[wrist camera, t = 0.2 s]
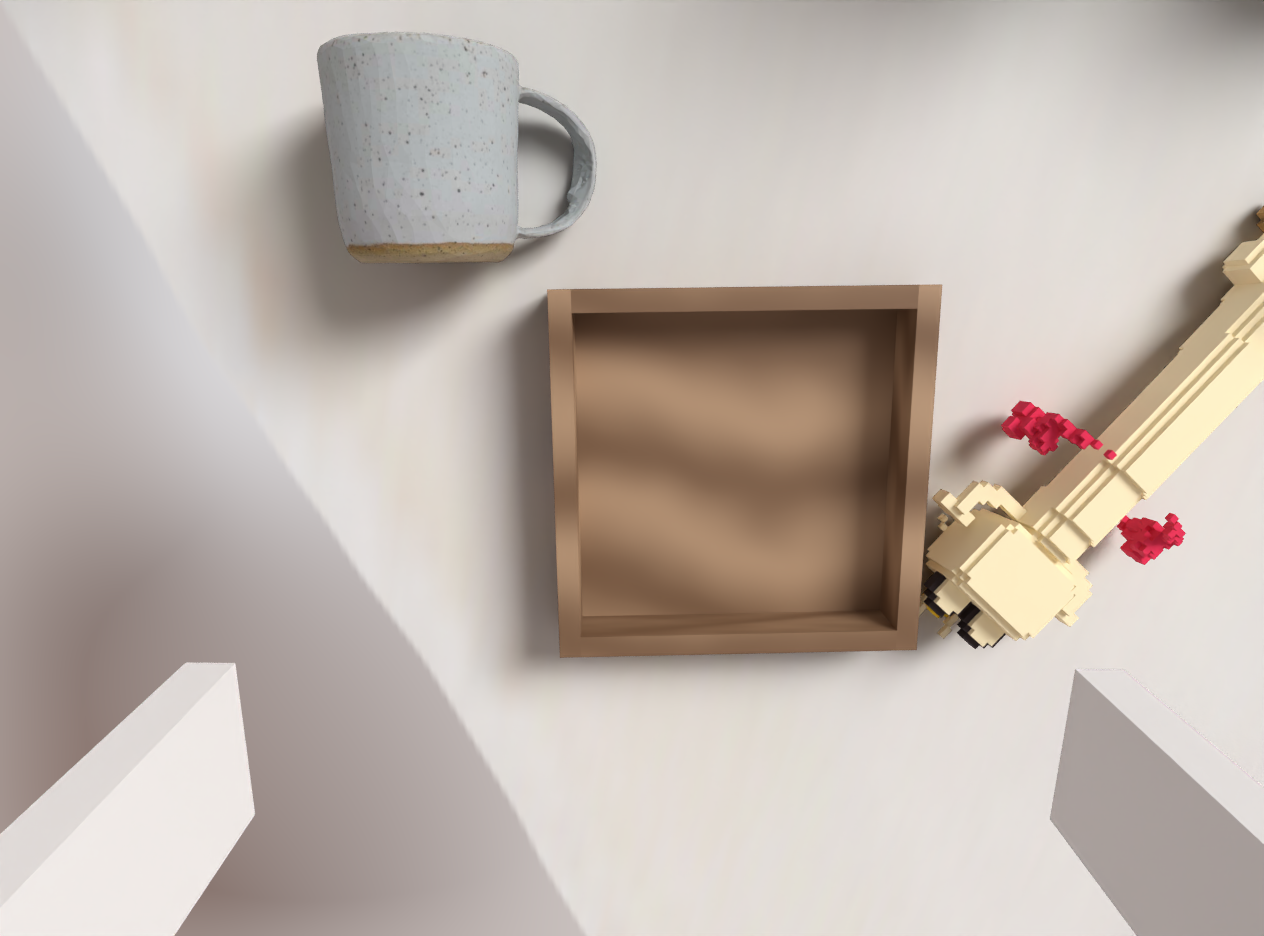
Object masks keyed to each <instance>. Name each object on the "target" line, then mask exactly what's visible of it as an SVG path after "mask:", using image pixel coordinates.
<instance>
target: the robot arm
mask: <svg viewBox="0 0 1264 936" xmlns="http://www.w3.org/2000/svg"><path fill="white" fill-rule="evenodd" d="M254 815H255V810H254V804H253V795H252V788H251V780H250V772H249V765H248V758H247V749H246V742H245V734H244V727H243V719H242V712H241V704H240V696H239V689H238V681H237V673H236V666H235V663H185V664H184V665H183V666H182V667H181V668H180V669H179V670H177V671H176V672H175V673H174V674H173V675H172V676H171V677H170V678H169V679H168V680H167V681H166V682H164V683H163V684H162V685H161V686H160V687H159V688H158V689H157V690H156V691H155V692H154V693H152V694H151V696H149V697H148V698H147V699H146V700H145V701H144V702H143V703H142V704H141V705H139V707H137V708H136V709H135V710H134V711H133V712H132V713H131V714H130V715H129V716H128V717H126V718H125V719H124V720H123V721H122V722H121V723H120V724H119V725H118V726H117V727H116V728H115V729H114V730H113V731H111V732H110V733H109V734H108V735H107V736H106V737H105V738H104V739H103V740H102V741H101V742H99V743H98V745H96V746H95V747H94V748H93V749H92V750H91V751H90V752H89V753H88V754H87V755H85V756H84V757H83V758H82V759H81V760H80V761H79V762H78V763H77V764H76V765H75V766H74V767H72V768H71V769H70V770H69V771H68V772H67V773H66V774H65V775H64V776H63V777H62V778H60V779H59V780H58V781H57V782H56V783H55V784H54V785H53V786H52V787H51V788H50V789H49V790H47V791H46V792H45V793H44V794H43V795H42V796H41V797H40V798H39V799H38V800H37V801H36V802H34V803H33V804H32V805H31V806H30V807H29V808H28V809H27V810H26V811H25V812H24V813H23V814H22V815H20V816H19V817H18V818H17V819H16V820H15V821H14V822H13V823H12V824H11V825H10V826H9V827H8V828H6V829H5V830H4V831H3V832H2V833H1V834H0V936H174V935H175V934H176V932H177V931H178V929H179V927H180V926H181V925H182V923H183V921H184V920H185V919H186V917H187V915H188V914H189V913H190V911H191V910H192V908H193V906H194V905H195V904H196V902H197V901H198V899H199V898H200V896H201V895H202V893H203V891H204V890H205V889H206V887H207V886H208V884H209V883H210V881H211V879H212V878H213V877H214V875H215V873H216V872H217V870H218V869H219V868H220V866H221V865H222V863H223V862H224V860H225V859H226V857H227V856H228V854H229V853H230V851H231V849H232V848H233V846H234V845H235V844H236V842H237V840H238V839H239V838H240V836H241V834H242V833H243V832H244V830H245V829H246V827H247V826H248V824H249V823H250V821H251V820H252V818H253V816H254ZM1050 820H1051V821H1052V823H1053V824H1054V825H1055V827H1056V828H1057V829H1058V831H1059V832H1060V833H1061V835H1062V836H1063V837H1064V839H1065V840H1066V841H1067V843H1068V844H1069V845H1070V847H1071V848H1072V849H1073V851H1074V852H1075V853H1076V855H1077V856H1078V857H1079V859H1080V860H1081V861H1082V863H1083V864H1084V866H1085V867H1086V868H1087V870H1088V871H1089V872H1090V874H1091V875H1092V876H1093V878H1094V879H1095V880H1096V882H1097V883H1098V884H1099V886H1100V887H1101V888H1102V890H1103V891H1104V892H1105V894H1106V895H1107V896H1108V898H1109V899H1110V900H1111V902H1112V903H1113V904H1114V906H1115V907H1116V908H1117V910H1118V911H1119V913H1120V914H1121V915H1122V917H1123V918H1124V919H1125V921H1126V922H1127V923H1128V925H1129V926H1130V927H1131V929H1132V930H1133V931H1134V933H1135V934H1136V935H1137V936H1264V786H1262V785H1261V784H1260V783H1259V782H1258V781H1256V780H1255V779H1254V778H1253V777H1252V776H1250V775H1249V774H1248V773H1247V772H1246V771H1245V770H1243V769H1242V768H1241V767H1240V766H1239V765H1237V764H1236V763H1235V762H1234V761H1233V760H1231V759H1230V758H1229V757H1228V756H1227V755H1225V754H1224V753H1223V752H1222V751H1221V750H1220V749H1218V748H1217V747H1216V746H1215V745H1214V744H1212V743H1211V742H1210V741H1209V740H1208V739H1206V738H1205V737H1204V736H1203V735H1202V734H1200V733H1199V732H1198V731H1197V730H1196V729H1195V728H1193V727H1192V726H1191V725H1190V724H1189V723H1187V722H1186V721H1185V720H1184V719H1183V718H1181V717H1180V716H1179V715H1178V714H1177V713H1175V712H1174V711H1173V710H1172V709H1171V708H1170V707H1168V706H1167V705H1166V704H1165V703H1164V702H1162V701H1161V700H1160V699H1159V698H1158V697H1156V696H1155V695H1154V694H1153V693H1152V692H1150V691H1149V690H1148V689H1147V688H1146V687H1145V686H1143V685H1142V684H1141V683H1140V682H1139V681H1137V680H1136V679H1135V678H1134V677H1133V676H1131V675H1130V674H1129V673H1128V672H1127V671H1125V670H1124V669H1075V674H1074V680H1073V686H1072V692H1071V698H1070V704H1069V710H1068V715H1067V721H1066V727H1065V733H1064V739H1063V745H1062V751H1061V757H1060V762H1059V768H1058V774H1057V780H1056V786H1055V792H1054V798H1053V803H1052V809H1051V815H1050Z"/></svg>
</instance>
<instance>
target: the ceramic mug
mask: <svg viewBox="0 0 1264 936" xmlns="http://www.w3.org/2000/svg"><path fill="white" fill-rule="evenodd" d="M317 62H318V69H319V76H320V83H321V90H322V99H323V104H324V116H325V121H326V131H327V139H328V146H329V153H330V160H331V164H332V174H333V184H334V193H335V202H336V209H337V215H338V221H339V226H340V229H341V232H342V236H343V240H344V243H345V245H346V247H347V250H348V252H349V253H350V254H351V255H352V256H353V257H354V258H355V259H357V260H358V261H359V262H362V263H441V262H501V261H503V260H504V259H505V258H506V257H507V256H508V255H510V253H511V252H512V250H513V247H514V242H515V240H516V239H518V238H523V239H527V238H536V237H543V236H548V235H552V234H555V233H557V232H560V231H562V230H564V229H566V228H568V227H569V226H571V225H572V224H573V223H574V222H575V221H576V220H577V219H578V218H579V217H580V216H581V215H582V214H583V212H584V211H585V209H586V208H587V206H588V205H589V203H590V200H591V197H592V194H593V192H594V187H595V181H596V167H597V162H596V153H595V147H594V143H593V140H592V138H591V136H590V133H589V132H588V130H587V129H586V127H585V125H584V124H583V123H582V122H581V121H580V119H579V118H578V117H577V116H576V115H575V113H573V112H572V111H571V110H570V109H569V108H568V107H567V106H566V105H564V104H562V103H561V102H559V101H557V100H555V99H553V98H552V97H550V96H548V95H546V94H544V93H541V92H538V91H535V90H532V89H529V88H525V87H521V86H520V85H519V82H518V81H519V69H518V62H517V60H516V59H515V57H514V56H513V55H512V54H510V53H509V52H507V51H506V50H503V49H501V48H499V47H496V46H493V45H491V44H486V43H484V42H480V41H476V40H471V39H466V38H457V37H452V36H447V35H439V34H430V33H411V32H383V33H361V34H351V35H343V36H340V37H336V38H333V39H331V40H330V41H328V42H326V43H325V44H323V45H321V46H320V48H319V50H318V53H317ZM518 102H519V103H523V104H527V105H530V106H532V107H535V108H538V109H540V110H542V111H543V112H545V113H547V114H548V115H550V116H552V117H553V118H555V119H556V120H557V121H558V122H559V123H560V124H561V125H562V126H564V128H565V129H566V130H567V132H568V133H569V135H570V137H571V139H572V145H573V147H574V161H573V177H572V183H571V188H570V190H569V192H568V193H567V200H568V202H569V206H568V208H567V209H566V211H565V213H564V214H562V215H561V216H559V217H558V218H557V219H556V220H554V221H553V222H552V223H550V224H547V225H542V226H540V227H536V228H522V227H519V226H518V178H517V152H518Z"/></svg>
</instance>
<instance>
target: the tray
mask: <svg viewBox="0 0 1264 936" xmlns="http://www.w3.org/2000/svg"><path fill="white" fill-rule="evenodd" d="M941 295H942V285H871V286H793V287H714V288H635V289H557V290H547V297H548V326H549V355H550V384H551V413H552V442H553V470H554V499H555V528H556V557H557V586H558V615H559V643H560V658H564V657H610V656H656V655H703V654H749V653H795V652H841V651H888V650H917V636H918V622H919V608H920V594H921V580H922V565H923V551H924V537H925V523H926V508H927V494H928V480H929V466H930V451H931V437H932V423H933V409H934V394H935V380H936V366H937V352H938V338H939V323H940V309H941Z"/></svg>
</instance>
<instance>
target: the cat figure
mask: <svg viewBox="0 0 1264 936" xmlns="http://www.w3.org/2000/svg"><path fill="white" fill-rule="evenodd" d="M1256 215H1257V216H1258V217H1259V218H1260V219H1261V221H1260V222H1258V223H1257V224H1256V225H1257V226H1258V227H1259V228H1260V229H1261V230H1262V232H1263V233H1264V206H1263V207H1262V208H1261V209H1260V210H1259V211H1258V212H1257V213H1256ZM1223 263H1224V266H1223V267H1222V268H1223V269H1224V270H1223V271H1222V272H1223V273H1224V274H1225V275H1226V276H1227V277H1228V278H1229V280H1230V281H1231V282H1232V283H1233V284H1234V286H1233V287H1232V288H1231V289H1230V290H1229V291H1228V292H1227V293H1226V294H1225V295H1224V296H1223V298H1222V299H1221V301H1222V302H1221V303H1220V304H1219V305H1220V306H1219V307H1218V308H1217V309H1216V310H1215V311H1214V312H1213V313H1212V314H1211V315H1210V316H1209V317H1208V318H1207V319H1206V320H1205V321H1204V322H1203V324H1202V325H1201V326H1200V327H1199V328H1198V329H1197V330H1196V331H1195V332H1194V333H1193V334H1192V335H1191V336H1190V337H1189V338H1188V339H1187V340H1186V341H1185V342H1184V343H1183V344H1182V345H1181V346H1180V348H1179V349H1180V351H1179V352H1178V353H1179V354H1178V355H1177V356H1176V357H1175V358H1174V359H1173V360H1172V361H1171V362H1170V363H1169V364H1168V365H1167V366H1166V367H1165V368H1164V369H1163V370H1162V371H1161V372H1160V374H1159V375H1158V376H1157V377H1156V378H1155V379H1154V380H1153V381H1152V382H1151V383H1150V384H1149V385H1148V386H1147V387H1146V388H1145V389H1144V390H1143V391H1142V392H1141V393H1140V394H1139V395H1138V396H1137V398H1136V399H1135V400H1134V401H1133V402H1132V403H1131V404H1130V405H1129V406H1128V407H1127V408H1126V409H1125V410H1124V411H1123V412H1122V413H1121V414H1120V415H1119V416H1118V417H1117V418H1116V419H1115V420H1114V422H1113V423H1112V424H1111V425H1110V426H1109V427H1108V428H1107V429H1106V430H1105V431H1104V432H1103V433H1102V434H1101V435H1100V436H1099V437H1098V438H1097V439H1094V438H1093V437H1092V436H1091V435H1090V434H1089V433H1088V432H1087V431H1086V430H1083V429H1077V428H1076V427H1075V426H1074V425H1073V424H1072V423H1071V422H1070V421H1069V420H1068V419H1064V418H1063V417H1062V416H1061V415H1060V414H1055V413H1048V412H1047V413H1046V414H1045V413H1044V412H1043V411H1042V410H1041V409H1040V408H1039V407H1035V406H1034V405H1033V404H1032V403H1031V402H1024V401H1019V403H1018V404H1017V405H1016V406H1015V407H1014V408H1013V409H1012V410H1011V411H1012V412H1013V413H1012V415H1013V416H1009V417H1008V418H1007V419H1006V421H1005V422H1004V423H1003V424H1002V425H1001V426H1002V427H1003V428H1002V430H1003V431H1004V432H1005V433H1006V434H1007V435H1008V436H1009V437H1010V438H1015V439H1019V440H1021V439H1022V438H1023V437H1024V436H1025V435H1026V436H1027V437H1028V438H1029V439H1030V440H1029V441H1028V442H1029V443H1030V444H1029V446H1030V447H1031V448H1032V449H1034V450H1037V451H1038V452H1039V453H1040V454H1041V455H1046V454H1047V453H1048V452H1049V451H1055V450H1056V449H1057V448H1058V445H1057V442H1058V441H1059V440H1058V439H1057V438H1058V437H1059V436H1060V435H1061V436H1062V437H1063V438H1066V439H1068V440H1069V441H1070V442H1071V443H1073V444H1076V445H1077V446H1078V447H1079V448H1080V449H1082V450H1081V451H1080V452H1079V453H1078V454H1077V455H1076V456H1075V457H1074V458H1073V459H1072V460H1071V461H1070V462H1069V463H1068V464H1067V465H1066V466H1065V467H1064V469H1063V470H1062V471H1061V472H1060V473H1059V474H1058V475H1057V476H1056V477H1055V478H1054V479H1053V480H1052V481H1051V482H1050V483H1049V484H1048V485H1047V486H1046V487H1045V486H1041V488H1040V489H1039V490H1038V491H1037V492H1036V493H1035V494H1034V495H1033V496H1032V497H1031V498H1030V499H1029V500H1028V501H1027V502H1026V503H1025V504H1024V505H1023V506H1021V505H1020V504H1019V503H1018V502H1017V501H1016V500H1015V499H1014V498H1013V497H1012V496H1011V495H1010V494H1009V493H1008V492H1007V491H1006V490H1005V489H1004V488H1003V487H1002V486H999V485H996V484H994V485H993V486H991V485H990V484H989V483H988V482H985V481H981V482H980V483H978V482H975V481H973V482H972V483H971V484H970V485H969V486H968V487H967V488H966V489H965V490H964V491H963V492H962V493H961V494H960V495H959V496H958V497H957V498H955V497H954V496H953V495H952V494H951V493H950V492H947V491H945V490H942V489H940V490H939V491H938V493H937V494H936V495H935V496H934V497H933V498H932V499H933V500H934V501H935V502H936V503H937V504H938V506H939V507H940V508H941V509H942V510H943V511H944V512H945V513H946V514H949V515H950V516H951V517H952V518H953V519H954V520H955V521H954V522H953V523H952V524H951V525H950V526H949V527H948V526H947V525H946V524H945V522H946V521H947V520H948V518H947V517H946V516H945V515H944V514H941V515H940V516H939V517H938V519H939V520H940V521H941V523H940V524H939V525H938V527H939V528H940V529H941V530H942V531H943V533H942V534H941V535H940V536H939V538H938V539H937V540H936V541H935V542H934V543H933V544H932V545H931V546H930V547H929V548H928V549H927V550H928V551H929V552H928V553H927V555H926V556H927V558H928V559H929V561H928V562H927V563H926V565H927V566H928V567H929V568H930V569H931V570H932V571H933V572H934V574H933V575H932V576H931V577H930V578H929V579H928V580H927V581H926V582H925V583H924V585H925V586H926V587H927V588H928V589H927V590H926V591H925V592H924V593H923V594H922V596H921V597H920V608H919V616H920V615H921V614H922V613H923V612H924V611H925V609H926V608H927V609H928V610H929V611H930V612H931V613H932V614H933V615H935V616H936V617H937V618H939V617H943V616H945V617H946V619H945V620H944V621H943V623H944V624H945V625H944V626H943V627H942V628H941V629H940V630H939V631H938V632H937V633H938V634H939V635H940V636H941V637H942V638H943V639H944V638H945V637H946V636H947V635H948V634H949V633H950V632H951V631H952V629H950V627H951V626H952V625H953V624H954V623H955V622H956V621H957V620H958V619H959V618H960V619H961V621H960V622H959V623H958V624H957V625H958V626H959V627H960V628H961V629H960V630H959V631H958V632H957V633H958V634H959V635H960V636H961V637H962V638H963V639H964V640H965V641H966V642H967V643H968V644H969V645H971V646H972V647H973V648H975V649H976V648H977V647H978V646H979V645H980V646H981V647H983V648H985V647H986V646H987V645H989V646H991V647H992V648H993V647H994V646H995V645H996V644H997V643H998V642H999V641H1000V640H1001V639H1002V638H1003V637H1004V636H1005V635H1008V636H1009V637H1011V638H1012V639H1014V640H1015V641H1017V640H1018V639H1019V638H1022V639H1023V640H1026V639H1027V638H1028V637H1029V636H1031V637H1032V638H1034V637H1035V636H1036V635H1037V634H1038V633H1039V632H1040V631H1041V630H1042V629H1043V628H1044V627H1045V626H1046V625H1047V624H1048V623H1049V621H1050V620H1051V619H1052V618H1053V617H1054V616H1055V617H1056V618H1057V619H1058V620H1059V621H1060V622H1062V623H1064V624H1066V625H1067V626H1069V627H1071V626H1072V625H1073V624H1074V623H1075V622H1076V620H1077V619H1078V617H1077V616H1076V615H1075V614H1074V613H1075V612H1076V610H1077V609H1078V608H1079V607H1080V606H1081V605H1082V604H1083V603H1084V602H1085V601H1086V600H1087V599H1088V598H1089V597H1090V596H1091V595H1092V593H1091V592H1090V591H1089V589H1090V588H1091V587H1092V586H1093V585H1092V584H1091V583H1090V582H1089V581H1088V580H1087V579H1086V578H1085V577H1086V576H1087V575H1088V574H1089V572H1088V571H1087V570H1086V569H1085V568H1084V567H1083V566H1082V565H1081V564H1080V563H1079V562H1078V561H1077V559H1078V558H1079V557H1080V556H1081V555H1082V554H1083V552H1084V551H1085V550H1086V549H1087V548H1088V547H1089V546H1092V547H1095V546H1096V545H1097V544H1098V543H1099V542H1100V541H1101V540H1102V539H1103V538H1104V537H1105V536H1106V535H1107V534H1108V533H1109V532H1110V531H1111V530H1112V529H1113V528H1114V527H1115V526H1116V525H1117V523H1118V522H1119V521H1120V523H1119V524H1118V525H1117V527H1118V528H1119V529H1120V530H1122V531H1123V532H1122V533H1121V534H1122V535H1123V536H1124V538H1125V539H1126V540H1127V541H1126V542H1125V543H1124V544H1123V545H1122V546H1121V547H1120V549H1121V550H1122V551H1123V552H1124V553H1125V554H1126V555H1127V556H1129V557H1132V558H1133V559H1134V560H1135V561H1136V562H1139V563H1141V564H1144V565H1145V564H1146V563H1147V562H1148V561H1149V560H1150V559H1155V558H1156V557H1157V556H1158V555H1159V554H1160V553H1161V552H1162V551H1163V548H1166V549H1170V548H1171V547H1172V546H1173V545H1176V546H1179V545H1180V544H1181V543H1182V542H1183V541H1182V540H1183V539H1184V538H1183V536H1184V535H1185V534H1186V533H1185V532H1184V531H1183V530H1182V529H1181V527H1182V525H1181V524H1180V523H1179V522H1177V520H1178V519H1179V518H1178V517H1177V516H1176V515H1175V514H1172V513H1169V514H1168V515H1167V516H1166V517H1165V519H1166V520H1167V521H1168V522H1167V523H1166V524H1165V525H1164V526H1163V527H1162V526H1161V525H1160V524H1159V523H1158V522H1157V521H1153V520H1150V519H1147V518H1144V517H1143V518H1142V519H1138V518H1133V519H1129V518H1128V517H1127V516H1126V514H1127V513H1128V512H1129V511H1130V510H1131V509H1132V508H1133V507H1134V506H1135V505H1136V504H1137V503H1138V502H1139V501H1140V500H1141V499H1144V500H1147V499H1148V498H1149V497H1150V496H1151V495H1152V494H1153V493H1154V492H1155V490H1156V489H1157V488H1158V487H1159V486H1160V485H1161V484H1162V483H1163V482H1164V481H1165V480H1166V479H1167V478H1168V477H1169V476H1170V475H1171V474H1172V473H1173V472H1174V471H1175V470H1176V469H1177V468H1178V467H1179V466H1180V465H1181V464H1182V463H1183V462H1184V461H1185V460H1186V459H1187V458H1188V456H1189V455H1190V454H1191V453H1192V452H1193V451H1194V450H1195V449H1196V448H1197V447H1198V446H1199V445H1200V444H1201V443H1202V442H1203V441H1204V440H1205V439H1206V438H1207V437H1208V436H1209V435H1210V434H1211V433H1212V432H1213V431H1214V430H1215V429H1216V428H1217V427H1218V426H1219V425H1220V424H1221V422H1222V421H1223V420H1224V419H1225V418H1226V417H1227V416H1228V415H1229V414H1230V413H1231V412H1232V411H1233V410H1234V409H1235V408H1236V407H1237V406H1238V405H1239V404H1240V403H1241V402H1242V401H1243V400H1244V399H1245V398H1246V397H1247V396H1248V395H1249V394H1250V393H1251V392H1252V391H1253V390H1254V389H1255V387H1256V386H1257V385H1258V384H1259V383H1260V382H1261V381H1262V380H1263V379H1264V234H1263V235H1262V236H1261V237H1260V238H1259V239H1258V240H1255V241H1248V242H1242V243H1241V244H1240V245H1239V246H1238V247H1237V248H1236V249H1235V250H1234V251H1233V252H1232V253H1231V254H1230V255H1229V256H1228V257H1227V258H1226V260H1225V261H1224V262H1223ZM977 503H979V504H981V505H984V504H985V503H987V504H988V505H989V506H990V507H993V508H995V509H997V508H998V507H1000V508H1001V509H1002V510H1003V511H1004V512H1005V513H1006V514H1007V515H1008V516H1009V517H1010V518H1011V519H1012V520H1010V519H1008V518H1005V517H1003V516H1001V515H998V514H996V513H993V512H991V511H988V510H986V509H983V508H982V509H981V510H980V511H978V510H976V509H973V510H972V511H970V510H971V509H972V508H973V507H974V506H975V505H976V504H977Z"/></svg>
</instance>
